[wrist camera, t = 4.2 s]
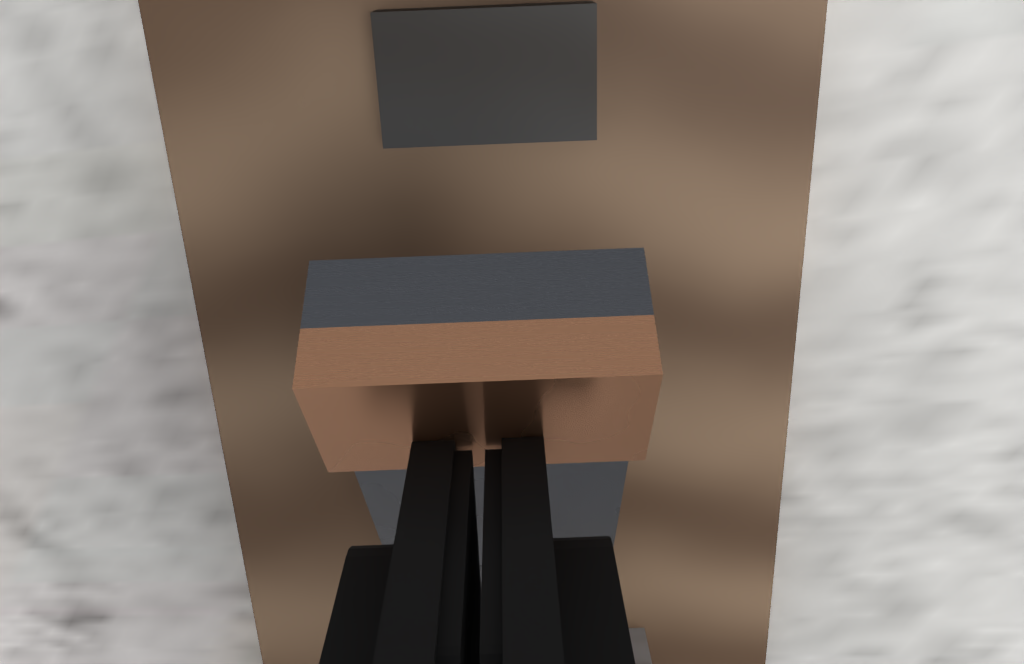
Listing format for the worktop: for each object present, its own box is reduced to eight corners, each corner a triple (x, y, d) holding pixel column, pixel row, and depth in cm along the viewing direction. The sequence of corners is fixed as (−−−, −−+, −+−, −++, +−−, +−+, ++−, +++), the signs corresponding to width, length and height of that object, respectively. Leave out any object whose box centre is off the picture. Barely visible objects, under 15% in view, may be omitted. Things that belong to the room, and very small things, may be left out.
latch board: (752, 668, 30) (808, 828, 25) (281, 686, 30) (231, 850, 25) (840, -332, 19) (976, -449, 14) (102, -301, 19) (-58, -405, 14)
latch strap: (595, 678, 28) (601, 751, 27) (436, 684, 28) (434, 757, 27) (682, 226, 11) (709, 371, 10) (270, 243, 11) (246, 390, 10)
